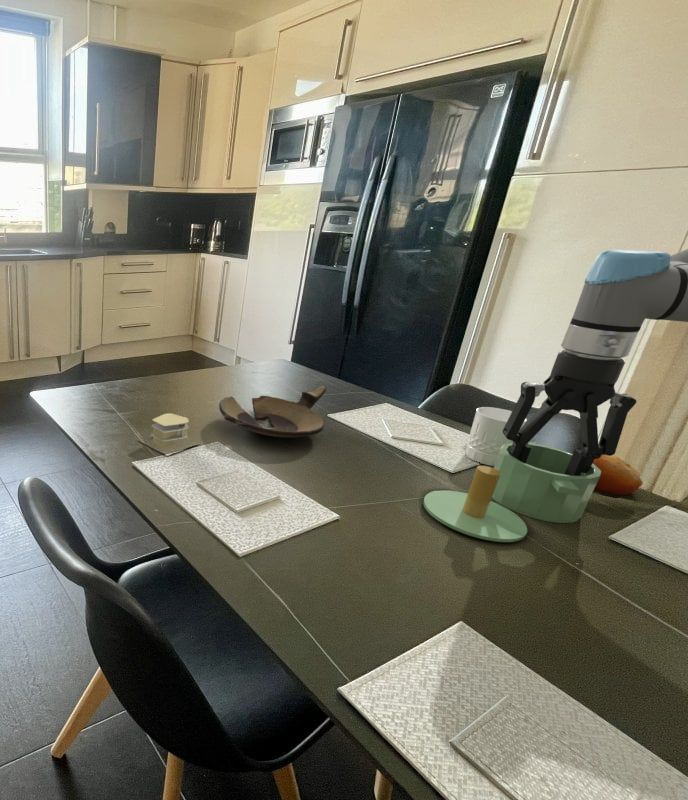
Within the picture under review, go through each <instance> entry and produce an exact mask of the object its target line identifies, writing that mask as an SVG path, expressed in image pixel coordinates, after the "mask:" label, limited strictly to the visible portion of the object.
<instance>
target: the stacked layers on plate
mask: <svg viewBox="0 0 688 800" xmlns="http://www.w3.org/2000/svg"><path fill="white" fill-rule="evenodd" d="M151 421H153V422H155V423H153V424H151V428H152V429H153V430H152V432H151V433H150V436H153V443H155V444H157V445H158V446H160V447H162V448H165V447H167V446H170V445H173V444H175V441H176V440H177V439H183V438H188V432H187V430H188V429H189V425H188V423H190V421H189V418H188V417H185V416H182V415H179V414H175V413H170V412H169V413H163V414H161V415H159V416H157V417H154V418H153V419H151Z"/></svg>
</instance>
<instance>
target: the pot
mask: <svg viewBox="0 0 688 800" xmlns="http://www.w3.org/2000/svg"><path fill="white" fill-rule="evenodd" d="M512 444H513V442H512V443H508V444H503V446H502V447H501V449H500V452H499V455H498V458H497V460H496V463H495V466H493V468H494V469H496V470H498V471H499V472H500V473H501V475H500V477H499V480H498V483H497V485H496V488H495V491H494V493H493V496H492V498H491V500H493V501H495V503H497V504H499V505H501V506H503V507H505V508H507V509H508V510H510V511H512V512H514V513H518V514H519V515H523V516H526V517H529V518H532V519H536V520H540V521H544V522H549V523H555V524H572V523H576V522H578V521H579V520H580V519H581V518H582V516H583V515H584V512H585V510H586V508H587V506H588V504H589V502H590V499H591V497H592V495H593V492H594V491H595V490H594V488H595V486H596V484H597V482H598V480H599V478H600V474H601V470H600V469H599V468H598V467H596V466H595V465H594V464H592V465H591V468H590V470H589V471H588V472H587V473H582V472H581V474H580V476H571V475H565V471H566V469H567V467H568V464H569V462H570V460H571V457H572V455H573V453H571V452H568V451H566V450H564V449H563V450H562V449H560V448H556V447H552V446H547V445H543V444H538V442H533V441H529V442H528V444H529V446H530V447H531V451H530V453H529V456H528V458H527V461H526V463H524V462H521V461H519V460H518V459H516V458H514V457H513V456H511V455H510V454H509V452H510V449H511V446H512Z"/></svg>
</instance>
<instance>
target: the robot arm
mask: <svg viewBox="0 0 688 800" xmlns="http://www.w3.org/2000/svg"><path fill="white" fill-rule="evenodd" d="M583 282H584V284H583V286H582V289H581V292H580V296H579V299H578V301H577V304H576V307H575V309H574V312H573V315H572V318H571V320H570V322H569V325H568V327H567V329H566V332H565V334H564V337H563V339H562V342H561V344H560V346H561V348H562V350H560V351H558V353H557V355H556V357H555V360H554V363H553V366H552V367H551V370H550V375H549V376H548V377H547V378H546V379H545V380H544V381H543V382H536V383H530V382H529V381H523V382H522V383H521V384H520V395H519V398H518V399H517V401H516V403H515V404H514V405H515V406H514V407H513V409H512V410H511V411H512V413H511V415H510V417H509V419H508V421H507V423H506V425H505V427H504V429H503V431H502V433H503V434H504V435H505V437H506V438H507V439H508V440H512V441H513V444H512V446H511V449H510V452H509V454H510V455H511V456H513V457H514V458H516V459H518V460H519V461H521V462H524V463H526V461H527V458H528V456H529V453H530V451H531V447H530V446H529V444H528V442H531V441H532V439H533V438H534V437H535V436H536V435H537V434H538V433H539V432H540V431H541V430H542V429H543V428H544V427H545V426H546V425H547V424H548V423H549V422H550V420H551V419H552V418H553V417H554V416H556V415H558V414H559V413H560V412H561V411H575V412H578V413H579V421H580V422H579V423H580V436H581V448H582V450H581V449H577V448H576V449H574V451H573V453H572V454H573V455H572V457H571V460H570V462H569V464H568V467H567V469H566V471H565V475H571V476H580V474H581V472H582V473H587V472H588V471H589V470H590V468H591V465H592V464H593V461H594V459H599V458H600V457H601V455H608V456H615V454H616V451H617V449H618V445H619V442H620V439H621V436H622V433H623V430H624V426H625V423H626V419H627V418H628V417H627V416H628V413H629V412H630V411H631V410H632V409H633V408H634V407H635V405H636V404H637V399H635V397H632V396H630V395H629V394H628V393H624V392H623V393H620V392H617V391H616V390H615V385H616V383H617V382H618V380H619V378H620V376H621V374H622V372H623V369H624V366H625V364H626V363H625V360H624V359H623V358H626V357H628V356H629V355H630V352H631V351H632V348H633V346H634V343H635V342H636V340H637V337H638V334H639V332H640V331H641V329H642V326H643V323H644V322H645V320H654V321H660V320H661V321H672V322H683V323H684V322H685V323H688V248H687V249H684V250H682V251H679V252H677V253H674V254H670V253H669V252H664V251H655V250H654V251H653V250H635V249H634V250H633V249H609V250H605V251H603V252H601V253H599V254H598V255H597V256H596V258H595V260H594V262H593V263H592V265H591V267H590V270H589V272H588V274H587V276H586V278H585V279H584V281H583ZM543 391H544V392H545V394H546V396H547V397H546V399H544V400H543V401H542V403H541V406H540V407H539V408H538V409H537V410H536V412H534V413H533V415H532V416H531V417H530V418H529V419H527V417H528V415H529V413H530V411H531V409H532V407H533V405H534V404H535V400H536V398H537V397H539V396H540V394H541V393H542V392H543ZM607 401H609V408H608V411H607V414H606V417H605V421H604V424H603V427H602V431H601V434H600V436H599V433H598V432H599V431H598V418H599V409H598V407H599V406H601V405H602V404H604V403H606V402H607ZM525 419H527V421H526V423H525V424H524V426H523V427H522V428H521V426H522V424H523V422H524V420H525ZM520 428H521V429H520Z"/></svg>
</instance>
